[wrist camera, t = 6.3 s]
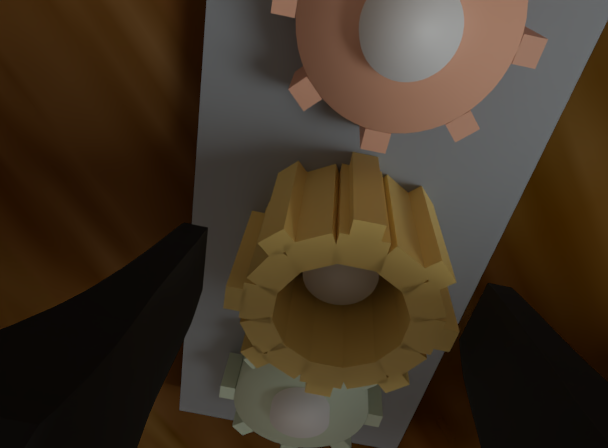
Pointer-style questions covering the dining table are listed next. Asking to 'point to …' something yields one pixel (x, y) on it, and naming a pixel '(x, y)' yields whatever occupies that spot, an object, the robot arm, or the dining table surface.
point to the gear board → (371, 141)
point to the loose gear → (351, 252)
